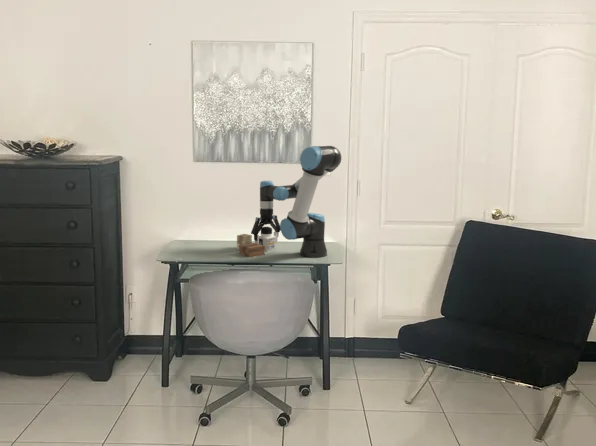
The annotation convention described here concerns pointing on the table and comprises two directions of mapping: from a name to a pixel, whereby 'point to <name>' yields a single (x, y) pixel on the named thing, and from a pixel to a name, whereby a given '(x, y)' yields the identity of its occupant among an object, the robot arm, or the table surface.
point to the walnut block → (251, 249)
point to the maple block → (243, 239)
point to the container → (267, 239)
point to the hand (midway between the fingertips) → (266, 244)
